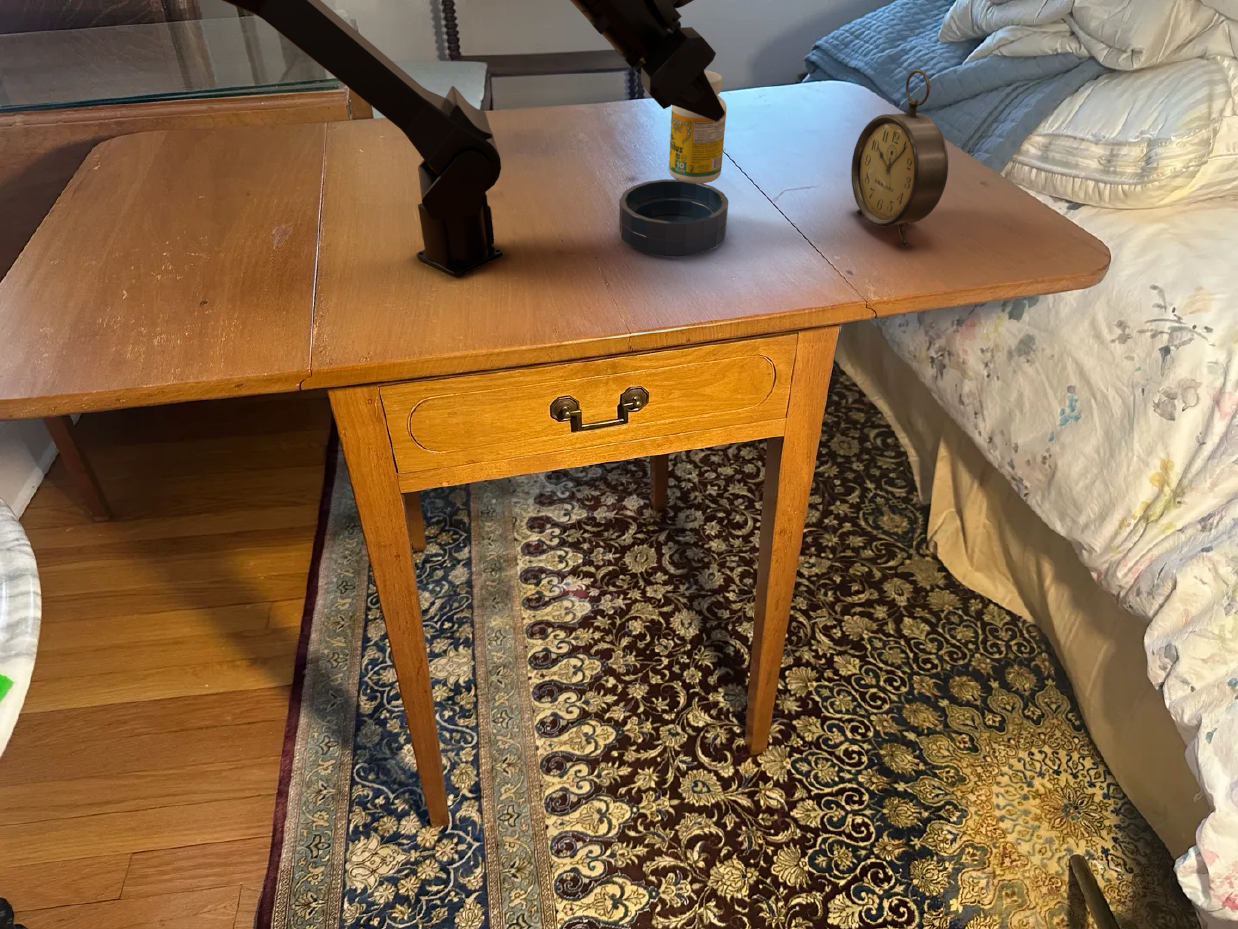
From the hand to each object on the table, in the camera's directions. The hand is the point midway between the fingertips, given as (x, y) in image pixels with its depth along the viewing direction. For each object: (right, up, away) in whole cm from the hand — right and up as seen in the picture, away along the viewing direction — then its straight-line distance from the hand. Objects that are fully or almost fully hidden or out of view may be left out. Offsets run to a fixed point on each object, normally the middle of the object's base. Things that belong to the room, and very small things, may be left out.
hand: (712, 107), depth 84 cm
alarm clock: (+20, -9, +9) cm, 24 cm away
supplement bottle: (-1, -5, +4) cm, 7 cm away
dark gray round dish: (-3, -10, +8) cm, 13 cm away
